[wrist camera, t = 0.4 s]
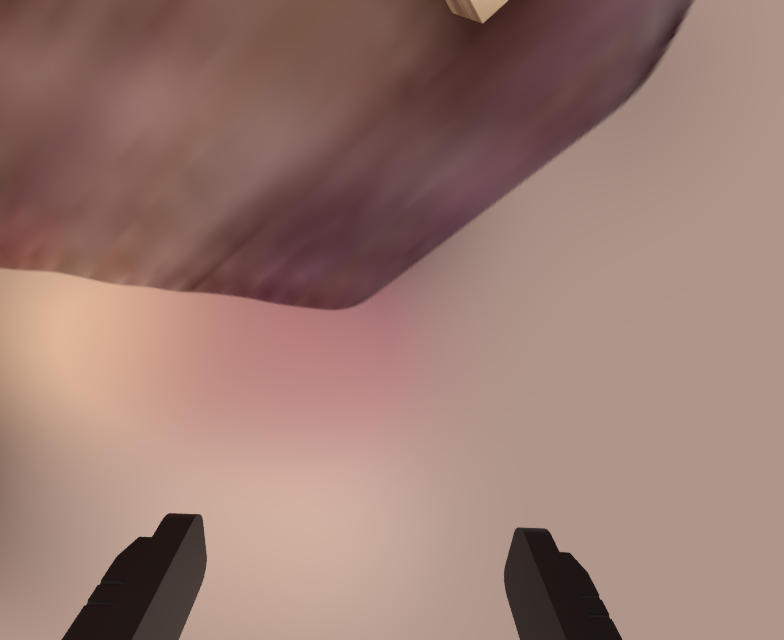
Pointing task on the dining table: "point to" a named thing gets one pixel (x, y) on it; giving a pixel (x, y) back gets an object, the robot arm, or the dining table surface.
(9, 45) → the dining table surface
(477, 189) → the dining table surface
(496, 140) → the dining table surface
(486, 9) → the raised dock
